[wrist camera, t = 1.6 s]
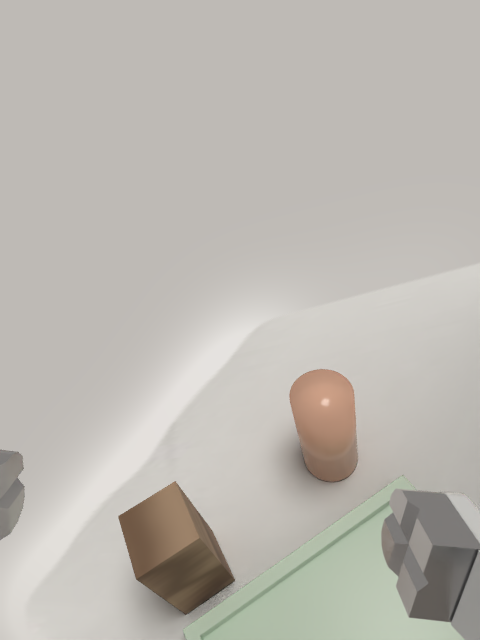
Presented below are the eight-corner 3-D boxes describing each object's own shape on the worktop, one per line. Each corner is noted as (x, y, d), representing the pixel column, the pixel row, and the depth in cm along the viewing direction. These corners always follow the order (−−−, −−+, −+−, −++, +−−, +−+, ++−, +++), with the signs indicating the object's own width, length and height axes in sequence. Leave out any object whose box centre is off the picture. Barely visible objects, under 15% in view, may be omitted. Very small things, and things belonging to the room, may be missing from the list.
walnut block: (212, 530, 36) (175, 481, 30) (235, 580, 33) (199, 537, 26) (166, 560, 35) (118, 516, 29) (186, 614, 32) (136, 579, 26)
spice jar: (335, 423, 41) (327, 359, 34) (369, 462, 38) (368, 399, 31) (293, 449, 40) (277, 389, 33) (324, 492, 37) (313, 434, 30)
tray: (401, 482, 36) (402, 474, 35) (551, 646, 26) (558, 642, 25) (188, 633, 31) (182, 629, 30) (278, 892, 22) (274, 899, 21)
